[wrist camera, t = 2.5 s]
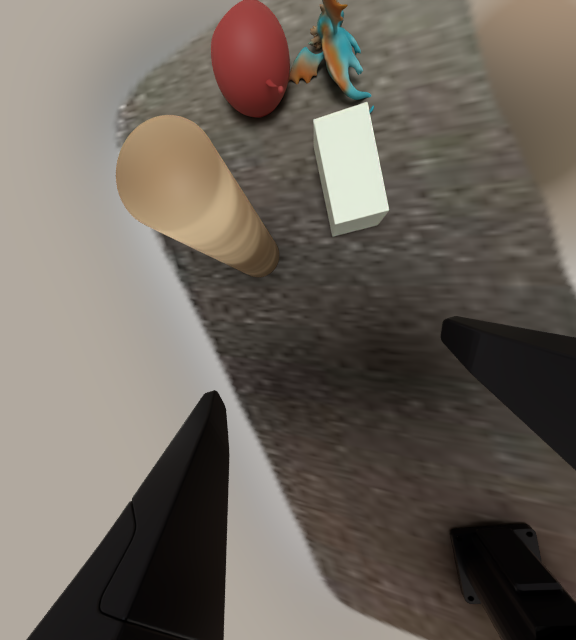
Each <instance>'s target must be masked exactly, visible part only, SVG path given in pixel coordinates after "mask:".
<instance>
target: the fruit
mask: <svg viewBox="0 0 576 640" xmlns="http://www.w3.org/2000/svg"><path fill="white" fill-rule="evenodd" d="M211 59H212V66H213V71H214V75H215V78H216V81H217V83H218V86H219V88H220V90H221V92H222V94H223V95H224V97H225V98H226V100H227V101H228V102H229V103H230V104H231V105H232V106H233V107H234V108H235V109H236V110H237V111H239V112H240V113H242V114H244V115H247V116H251V117H264V116H266V115H268V114H270V113H271V112H272V111H273V110H274V109H275V108H276V107H277V105H278V104H279V102H280V101H281V99H282V97H283V95H284V93H285V91H286V87H287V84H288V79H289V71H290V58H289V50H288V45H287V41H286V37H285V34H284V32H283V29H282V27H281V25H280V23H279V21H278V20H277V18H276V17H275V15H274V14H273V13H272V11H271V10H270V9H269V8H268V7H267V6H265V5H264V4H263V3H261V2H259V1H257V0H243V1H241V2H239V3H238V4H236V5H235V6H234V7H232V8H231V9H230V10H229V11H228V12H227V13H226V14H225V16H224V17H223V18H222V19H221V21H220V22H219V24H218V26H217V27H216V29H215V31H214V34H213V37H212V41H211Z"/></svg>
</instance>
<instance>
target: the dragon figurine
mask: <svg viewBox="0 0 576 640" xmlns="http://www.w3.org/2000/svg"><path fill="white" fill-rule="evenodd" d="M322 1H323V5H321V4H320V9H321V11H322V12H321V14H320V16H319V19H318V22H317V26H313V29H310V30H311V32H310V33H311V34H312V35H313V36H314V39H312V40H310V41H312V42H309V43H308V44H310V45H314V47H316V49H315V50H317V49H318V50H319V49H320V48H321V47H322V50H323V52H321V53H319V54H313V53H311V52H310V51H309V49H308V48H307V47H304V48H303V49H302V50H301V52H300V53H299V54H298V56H297V57H296V59H295V61H294V63H293V66H292V68H291V71H290V75H289V79H288V81H290V80H293V81H294V82H295V83H296V84H298V83H299V79H300V78H303V79H304V80H305V81H306V83H309V82H310V80H311V78H312V76H313V75H315V76H317V68H318V66H319V64H320V62H321V61H322V60H323V58H324V57H325V60H326V66H327V70H328V73H329V75H330V76H331V78H332V79H333V80H334V81H335V82H336V83H337V84H338V86H339V87H340V88H341V90H342V91H343V92H344V93H345V94H346V95H347V96H348V97H350V98H352V99H354V100H359V99H363V98H368V97H371V94H369V93H368V92H360V91H358V90H356V89H355V88H354V87H353V85H352V83H351V82H350V80H349V75H348V68H349V67H353V68H354V69H355V70H356V72H357V74H358V75H359V73H360V74H361V73H362V72H363V69H362V67H361V66H360V64H359V61H358V60H357V58H356V57H355V55H356V53H360V54H361V52H360V48H359V46H358V45H357V42H356V41H355V39H354V37H353V36H352V35H351V34H350V33H348V32H347V31H346V30H345V29H344V28H342V27H341V25H342V23H343V18H344V12H343V9H345V8H346V7H347V5H341V4H339V2H337V0H322ZM316 34H317V35H316ZM315 35H316V36H315ZM316 44H317V45H316ZM352 47H354V50H355V55H354V54H353V52H352ZM373 109H374V106H372V107H371V109H370V110H369V112H370V113H371V112H372V111H373Z"/></svg>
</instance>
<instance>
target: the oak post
mask: <svg viewBox="0 0 576 640" xmlns="http://www.w3.org/2000/svg"><path fill="white" fill-rule="evenodd" d="M116 183H117V189H118V192H119V195H120V198H121V200H122V202H123V204H124V206H125V208H126V209H127V210H128V211H129V213H130V214H131V215H132V216H133V217H134V218H135V219H137V220H138V221H139V222H141V223H143V224H144V225H146V226H148V227H150V228H153V229H155V230H157V231H159V232H161V233H163V234H165V235H167V236H169V237H171V238H173V239H175V240H177V241H179V242H181V243H184V244H186V245H188V246H190V247H192V248H194V249H196V250H198V251H200V252H202V253H204V254H206V255H208V256H210V257H213V258H215V259H217V260H219V261H221V262H223V263H225V264H227V265H229V266H231V267H233V268H235V269H237V270H239V271H242V272H244V273H246V274H248V275H250V276H253V277H264V276H266V275H268V274H270V273H271V272H272V271H273V270H274V269H275V268H276V266H277V264H278V261H279V250H278V247H277V245H276V243H275V241H274V240H273V238H272V237H271V235H270V234H269V232H268V230H267V229H266V227H265V226H264V224H263V223H262V221H261V219H260V218H259V216H258V215H257V213H256V212H255V210H254V208H253V207H252V205H251V204H250V202H249V201H248V199H247V198H246V196H245V194H244V193H243V191H242V190H241V188H240V187H239V185H238V183H237V182H236V180H235V179H234V177H233V176H232V174H231V172H230V171H229V169H228V168H227V166H226V165H225V163H224V161H223V160H222V158H221V157H220V155H219V154H218V152H217V150H216V149H215V147H214V146H213V144H212V143H211V141H210V139H209V138H208V136H207V135H206V134H205V132H204V131H203V130H202V129H201V128H200V127H199V126H198V125H196V124H195V123H193V122H192V121H190V120H188V119H186V118H183V117H180V116H175V115H163V116H158V117H154V118H151V119H149V120H147V121H145V122H144V123H142V124H141V125H139V126H138V127H137V128H136V129H135V130H134V131H133V132H132V133H131V134H130V135H129V137H128V138H127V139H126V141H125V143H124V144H123V146H122V148H121V151H120V153H119V157H118V160H117V167H116Z"/></svg>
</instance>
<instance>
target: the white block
mask: <svg viewBox="0 0 576 640" xmlns="http://www.w3.org/2000/svg"><path fill="white" fill-rule="evenodd" d="M313 122H314V151H315V155H316V160H317V165H318V170H319V175H320V180H321V184H322V189H323V194H324V199H325V204H326V209H327V213H328V218H329V223H330V228H331V233H332V237H334V236H338V235H342V234H345V233H349V232H353V231H357V230H361V229H365V228H369V227H373V226H377V225H378V224H379V223H380V222H381V220H382V219H383V218H384V216H385V215H386V214H387V212H388V211H389V208H388V203H387V198H386V193H385V188H384V183H383V178H382V173H381V168H380V163H379V158H378V153H377V148H376V143H375V138H374V132H373V127H372V122H371V117H370V112H369V107H368V102H365V103H362V104H359V105H356V106H353V107H350V108H347V109H344V110H341V111H338V112H335V113H332V114H329V115H326V116H323V117H320V118H317V119H314V120H313Z"/></svg>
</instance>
